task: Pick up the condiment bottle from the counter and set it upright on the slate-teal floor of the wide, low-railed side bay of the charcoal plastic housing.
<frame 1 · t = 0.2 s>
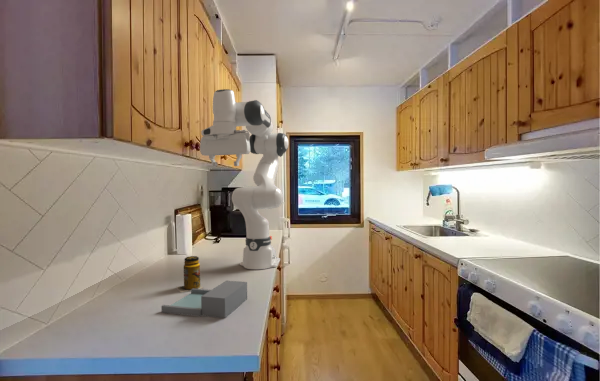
hand: (225, 166, 123), 47 cm above the counter, tool pointing down, fingers open, 8 cm apart
condiment: (189, 288, 122), on the counter
caddy: (212, 305, 104), on the counter
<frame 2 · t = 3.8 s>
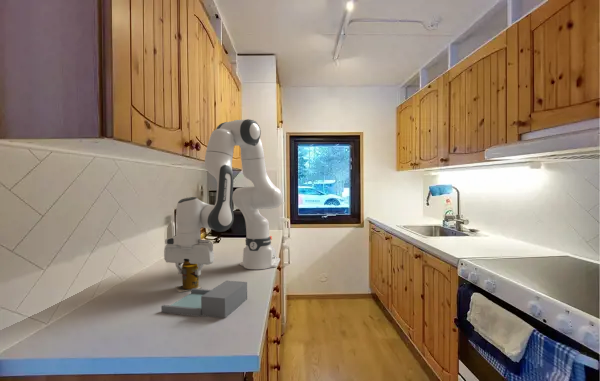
hand: (189, 274, 122), 5 cm above the counter, tool pointing down, fingers closed on condiment, 6 cm apart
condiment: (188, 288, 123), on the counter, touching gripper
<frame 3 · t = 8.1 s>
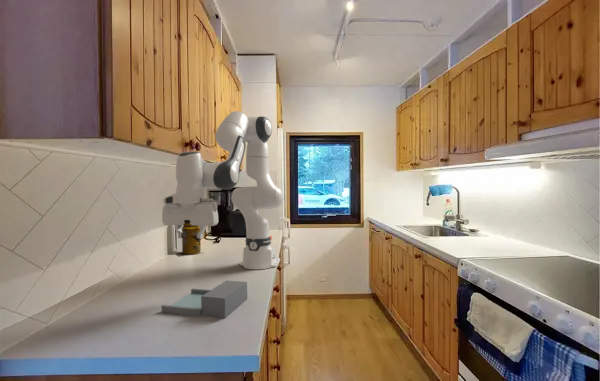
hand: (190, 238, 108), 22 cm above the counter, tool pointing down, fingers closed on condiment, 6 cm apart
condiment: (188, 254, 109), point 16 cm above the counter, touching gripper
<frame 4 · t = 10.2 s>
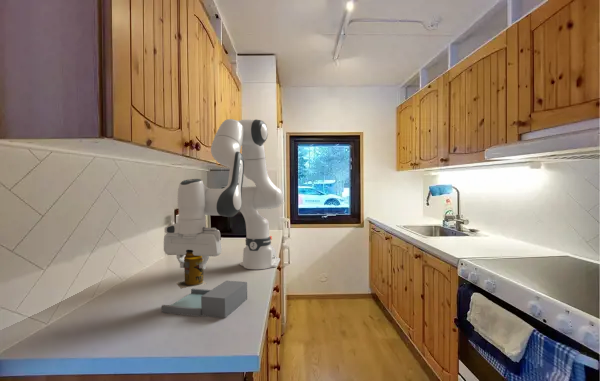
hand: (192, 268, 106), 12 cm above the counter, tool pointing down, fingers closed on condiment, 6 cm apart
condiment: (191, 284, 106), point 7 cm above the counter, touching gripper
when the fingers open (7 cm above the counter, at t = 12.1 s): condiment drops 1 cm, resting on caddy.
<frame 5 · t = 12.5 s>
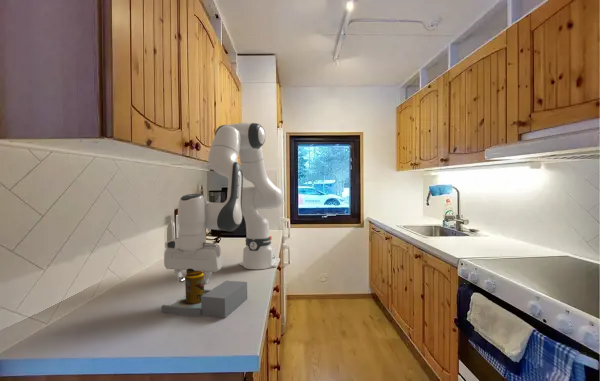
hand: (193, 282, 106), 7 cm above the counter, tool pointing down, fingers open, 8 cm apart
condiment: (192, 302, 106), resting on caddy
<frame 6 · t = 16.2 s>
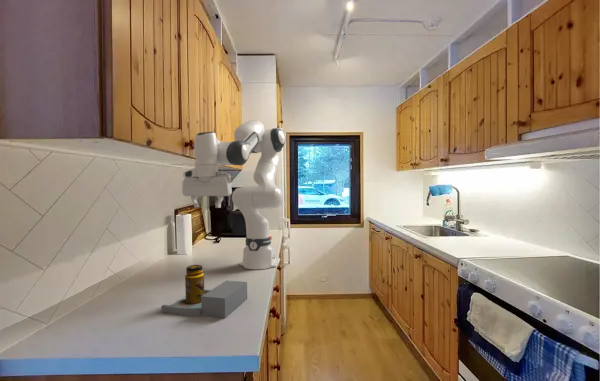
hand: (207, 207, 124), 31 cm above the counter, tool pointing down, fingers open, 8 cm apart
nothing on the counter moved.
at the end: condiment inside the target area on the caddy (0.8 cm from its centre), point 0.4 cm above the caddy's base; condiment tilted 0°; the gripper is holding nothing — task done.
